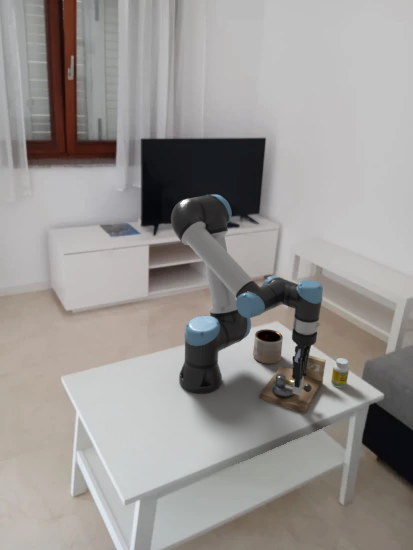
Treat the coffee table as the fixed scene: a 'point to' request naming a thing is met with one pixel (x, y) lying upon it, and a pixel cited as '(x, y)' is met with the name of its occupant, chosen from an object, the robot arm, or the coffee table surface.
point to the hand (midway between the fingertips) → (297, 393)
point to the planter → (267, 346)
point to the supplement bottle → (340, 373)
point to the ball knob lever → (286, 387)
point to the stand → (305, 399)
